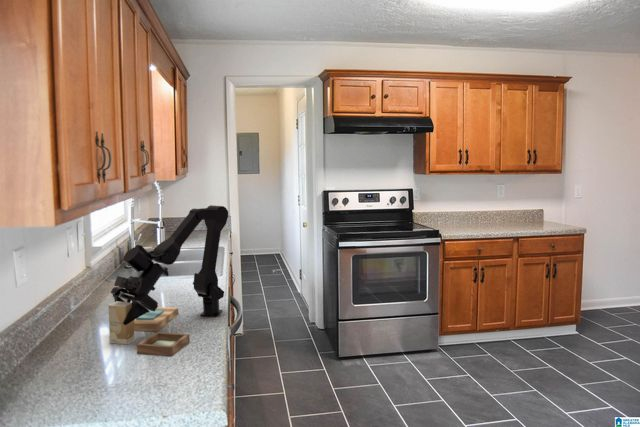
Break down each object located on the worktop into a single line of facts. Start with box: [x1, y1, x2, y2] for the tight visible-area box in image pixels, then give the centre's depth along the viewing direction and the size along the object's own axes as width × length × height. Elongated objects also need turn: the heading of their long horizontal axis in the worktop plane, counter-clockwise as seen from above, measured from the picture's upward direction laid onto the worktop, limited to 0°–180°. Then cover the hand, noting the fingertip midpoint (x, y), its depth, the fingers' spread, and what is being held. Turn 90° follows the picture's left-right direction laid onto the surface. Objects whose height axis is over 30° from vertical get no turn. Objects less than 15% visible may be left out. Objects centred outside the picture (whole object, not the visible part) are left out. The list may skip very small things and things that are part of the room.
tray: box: [136, 331, 191, 357], centre depth 153 cm, size 11×11×2 cm
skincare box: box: [108, 301, 136, 345], centre depth 158 cm, size 6×4×12 cm
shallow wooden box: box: [134, 306, 179, 332], centre depth 177 cm, size 18×12×3 cm, turn 174°
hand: (117, 322), depth 157 cm, fingers closed on skincare box, 7 cm apart
